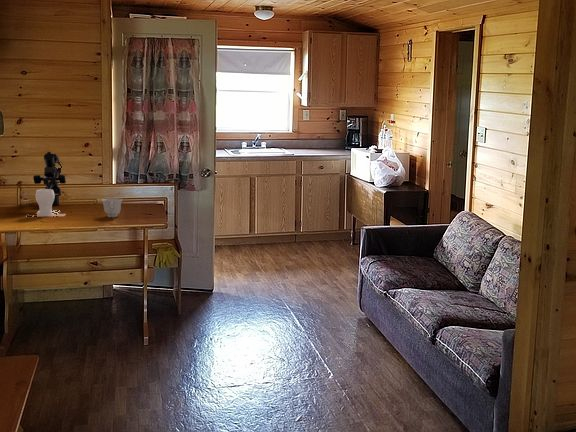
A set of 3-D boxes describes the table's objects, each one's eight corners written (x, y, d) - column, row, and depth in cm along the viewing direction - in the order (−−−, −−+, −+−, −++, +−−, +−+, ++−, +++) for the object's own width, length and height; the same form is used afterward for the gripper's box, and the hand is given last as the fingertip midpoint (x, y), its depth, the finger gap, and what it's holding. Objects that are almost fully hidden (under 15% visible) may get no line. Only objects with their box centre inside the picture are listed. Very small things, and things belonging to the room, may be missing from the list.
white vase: (58, 214, 425) (57, 189, 422) (50, 217, 415) (49, 191, 412) (41, 213, 426) (40, 188, 424) (33, 216, 416) (31, 191, 413)
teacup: (101, 219, 412) (100, 202, 410) (102, 214, 426) (102, 198, 424) (122, 218, 414) (122, 202, 412) (123, 214, 429) (122, 198, 427)
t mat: (30, 210, 434) (30, 210, 434) (68, 210, 439) (68, 210, 439) (25, 217, 414) (25, 216, 414) (64, 216, 419) (64, 216, 419)
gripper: (32, 162, 436) (31, 182, 427) (64, 162, 439) (63, 182, 431) (35, 173, 445) (33, 193, 436) (66, 173, 448) (65, 192, 440)
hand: (48, 190), depth 435 cm, fingers closed
